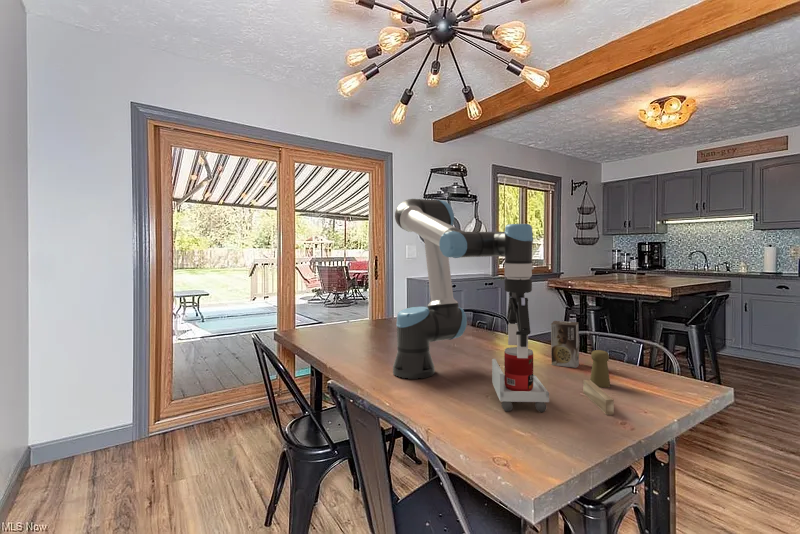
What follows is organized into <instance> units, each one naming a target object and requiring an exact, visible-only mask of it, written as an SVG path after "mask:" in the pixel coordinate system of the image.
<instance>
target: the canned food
mask: <svg viewBox="0 0 800 534" xmlns="http://www.w3.org/2000/svg"><path fill="white" fill-rule="evenodd" d="M503 355H504V356H503V357H504V358H503V359H504V375H505V386H506V388H507V389H509V390H511V391H531V390H532V389H533V375H534V350H533V349H530V348H528V358H517V346H511V347H506V348H505V349H504V354H503Z"/></svg>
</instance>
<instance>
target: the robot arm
mask: <svg viewBox="0 0 800 534" xmlns="http://www.w3.org/2000/svg"><path fill="white" fill-rule="evenodd" d="M394 220H395V222H396V224H397V225H398V226H399V227H400V228H401V229H402V230H404V231H405V232H408V233H409V232H410V233H412V232H413V233H415V234H417V235H418V236H419V237H421V238H422V239H423V241H424V250H425V259H426V267H427V268H426V269H427V277H428V286H429V293H430V294H429V295H430V296H429V297H430V302H429V303H428V304H427V306H412V307H408V308H404V309H402V310H400V311H399V312H398V313H397V315H396V325H395V326H396V342H397V343H396V347H397V348H396V349H397V352H396V355H395V359H394V362H393V364H392V374H393V375H394V376H395V375H396V376H395V377H397V376H399V377H398V378H400V377H402V378H401V379H405V378H408V379H407V380H419V379H418V378H421V379H427V378H430V377H431V376H433V375H434V374H435V371H436V370H435V364H434V362H433V361H434V360H433V358H432V355H431V353H430V343H432V342H434V343H435V342H440V341H446V340H448V341H451V340H454V339H457V338H460V337H461V336H463V334H464V332H465V331H466V329H467V324H468V323H467V321H468V319H467V314H466V312H465V310H464V309H463V308H462V307H459V302H458V301H457V300H456V299H455V298H454V291H453V282H452V275H451V274H452V273H451V267H450V258H454V259H458V258H459V259H460V258H475V257H476V258H481V257H482V258H483V257H484V258H486V257H487V258H488V257H490V258H491V257H503V258H504V277H505V279H504V291H505V292H507V293H508V304H507V305H508V306H507V307H508V308H507V312H506V313H507V315H506V321H507V323H508V325H507V328H508V329H507V337H508V338H507V345H508V346H516V347H517V358H528V349H529V335H530V334H531V333H532V332H531V327H530V325H531V323H530V315H529V298H528V297H525V294H526V293H531V292H532V291H533V279H531V277H532V276H533V274H532V273H533V271H532V270H535V267H534V266H533V243H534V238H533V237H534V236H533V227H532V225H531V224H529V223H508V224H506V225H505V228H504V231H465V230H461V229H460V228H457V227H455V226H454V221H455V213H454V209H453V207H452V205H451V204H450V203H448V202H447V201H446V200H439V199H428V198H427V199H425V198H424V199H423V198H409V199H405V200H403V201H402V202H401V203H399V205H398V206H397V207H396V209H395V212H394Z"/></svg>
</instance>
